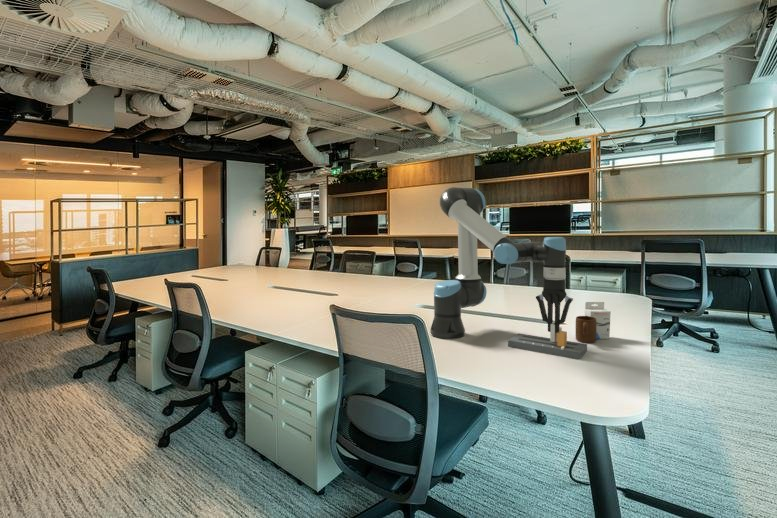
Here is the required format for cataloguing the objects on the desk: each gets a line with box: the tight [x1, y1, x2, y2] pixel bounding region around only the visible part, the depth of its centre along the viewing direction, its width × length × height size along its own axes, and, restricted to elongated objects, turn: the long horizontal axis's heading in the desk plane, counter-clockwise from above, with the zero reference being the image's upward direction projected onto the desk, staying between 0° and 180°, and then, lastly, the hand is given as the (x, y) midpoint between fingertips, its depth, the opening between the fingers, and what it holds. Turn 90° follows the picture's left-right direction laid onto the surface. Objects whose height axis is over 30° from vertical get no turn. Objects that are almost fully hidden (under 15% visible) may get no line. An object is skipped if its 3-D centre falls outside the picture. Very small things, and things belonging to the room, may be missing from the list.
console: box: [507, 332, 588, 360], centre depth 148 cm, size 26×12×3 cm, turn 52°
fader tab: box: [557, 330, 568, 347], centre depth 143 cm, size 2×4×5 cm, turn 142°
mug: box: [575, 315, 597, 344], centre depth 155 cm, size 12×8×9 cm, turn 151°
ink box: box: [584, 301, 611, 340], centre depth 161 cm, size 8×5×15 cm, turn 91°
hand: (553, 340), depth 144 cm, fingers closed
